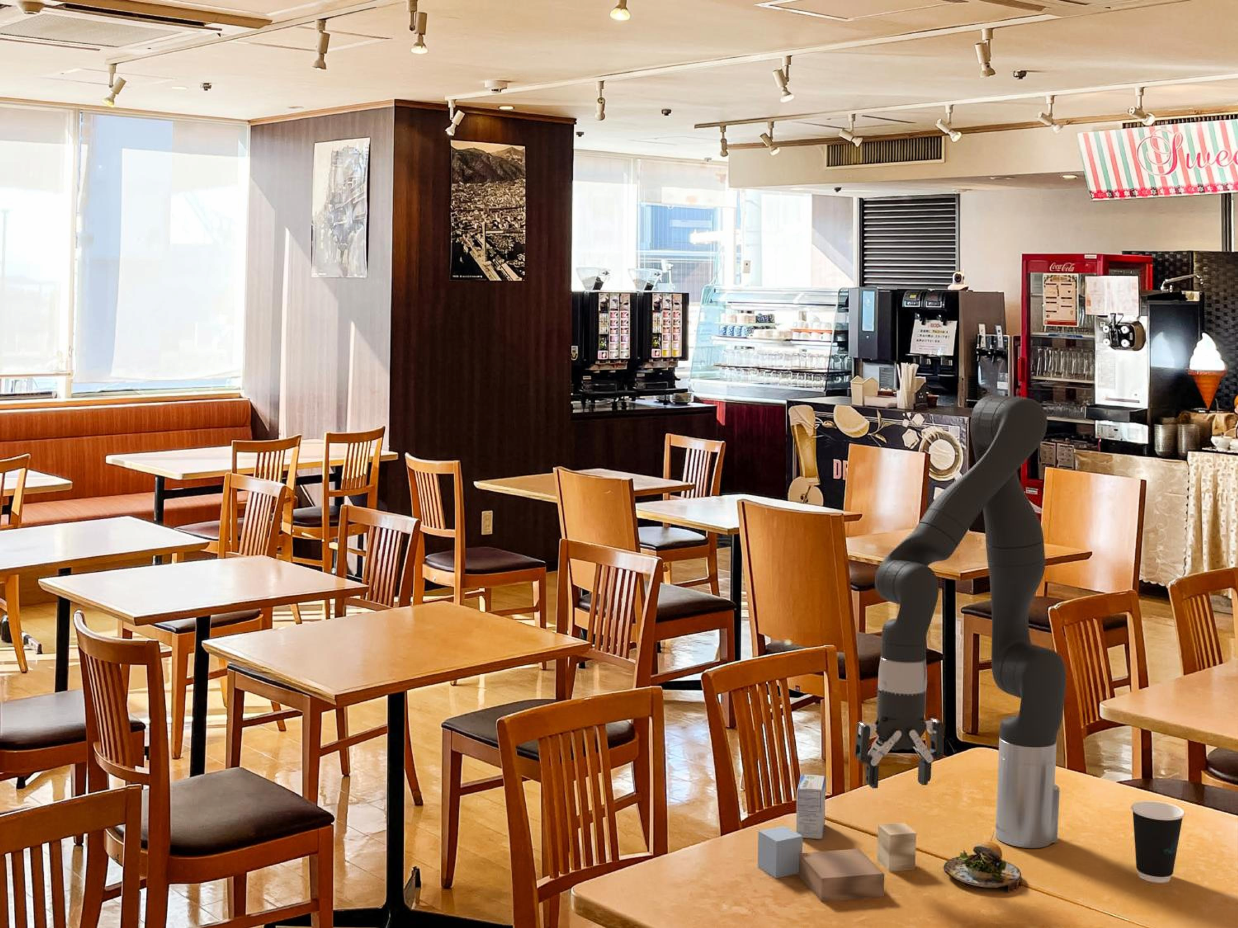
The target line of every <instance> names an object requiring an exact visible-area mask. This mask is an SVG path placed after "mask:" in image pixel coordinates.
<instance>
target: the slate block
mask: <svg viewBox="0 0 1238 928" xmlns="http://www.w3.org/2000/svg"><path fill="white" fill-rule="evenodd" d="M757 833H758V837H757V838H758V839H757V868H758V869H760V870H762V871H763V872H764V873H766V874H768V875H770V876H771V877H772V878H775V879H779V878H783V877H788V876H793V875H798V874H799V853H803V845H804V844H803V842H804V841H803V840H804V838H803V836H802V835H800V834H798V833H796V830H795V831H794V830H793V829H791V828H790V827H788V826H785V825H782V826H778V827H777V826H776V827H773V828H766V829H762V830H758V831H757Z"/></svg>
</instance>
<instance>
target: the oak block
mask: <svg viewBox="0 0 1238 928" xmlns="http://www.w3.org/2000/svg"><path fill="white" fill-rule="evenodd" d="M876 851H877V853H876V854H877V855H876V860H877V862H878V863H879V864H880V865H881V866H882V867H883V868H884V869H885V870H887V872H899V871H911V870H916V855H917V854H916V853H917V832H916V831H915V830H914V829H912V828H911V827H910V826H908V825H907V824H906V823H905V822H903V823H902V822H901V823H900V822H899V823H898V822H897V823H887V824H878V827H877V850H876Z"/></svg>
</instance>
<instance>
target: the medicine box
mask: <svg viewBox="0 0 1238 928" xmlns="http://www.w3.org/2000/svg"><path fill="white" fill-rule="evenodd" d="M826 778H827V777H826V776H825V775H819V774H818V775H817V774H801V775H800V778H799V782H798V787H797V789H796V823H795V824H796V827H795V828H796V829H795V832H796V833H798V834H800V835H802V836H803V839H812V840H814V839H815V840H822V839H823V835H824V829H825V822H826V783H827V782H826Z"/></svg>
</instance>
